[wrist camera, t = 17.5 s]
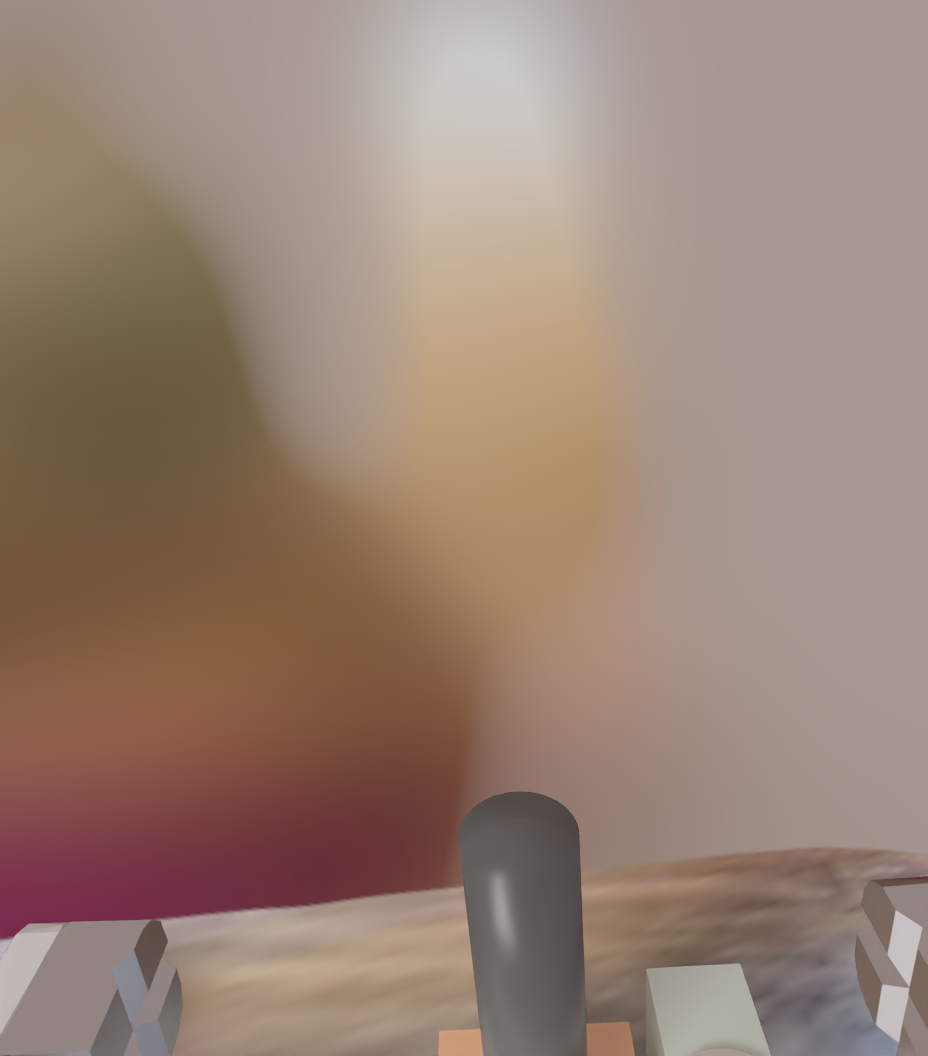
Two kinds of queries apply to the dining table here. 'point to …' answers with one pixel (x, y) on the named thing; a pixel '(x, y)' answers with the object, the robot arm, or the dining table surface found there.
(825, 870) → the dining table surface
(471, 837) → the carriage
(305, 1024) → the dining table surface
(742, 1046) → the track
